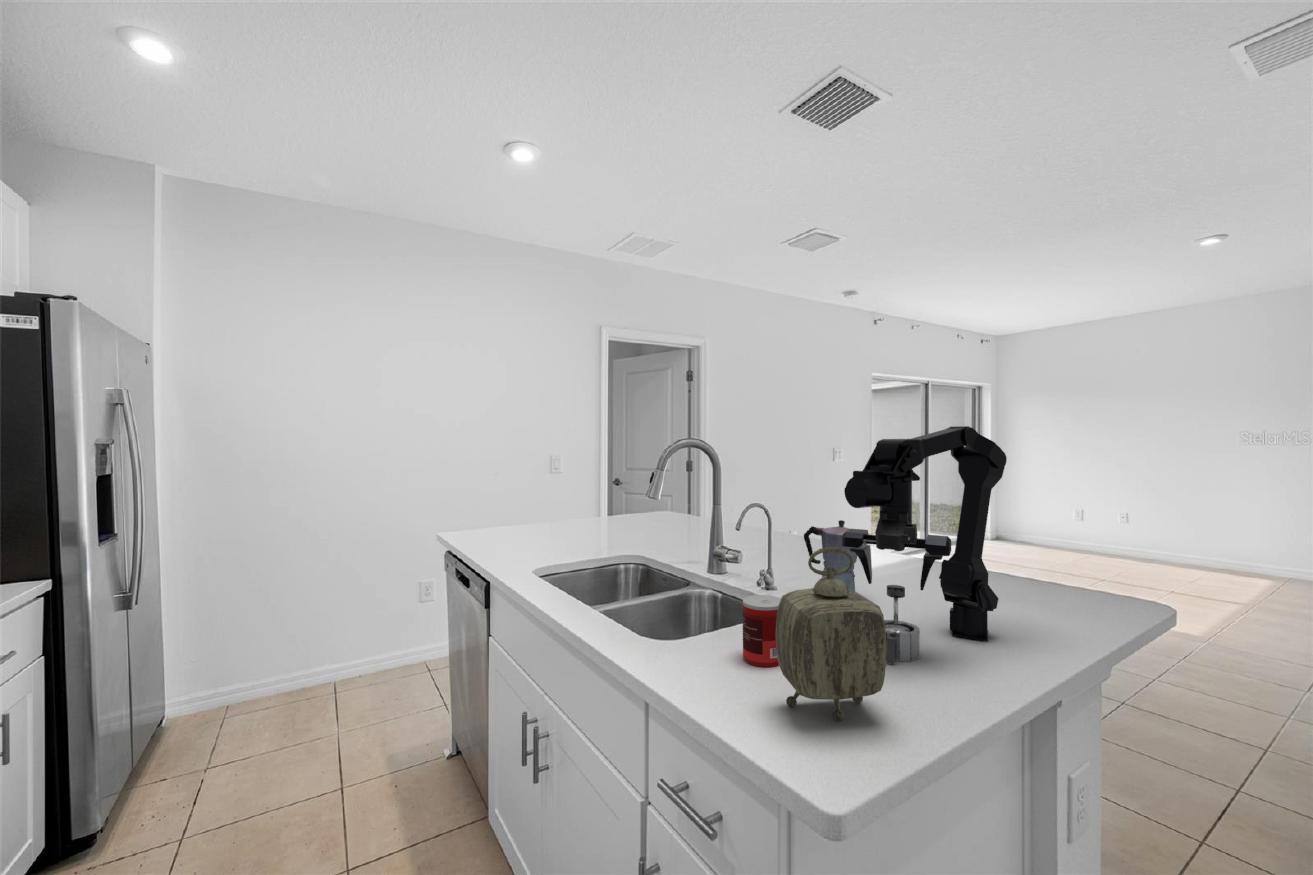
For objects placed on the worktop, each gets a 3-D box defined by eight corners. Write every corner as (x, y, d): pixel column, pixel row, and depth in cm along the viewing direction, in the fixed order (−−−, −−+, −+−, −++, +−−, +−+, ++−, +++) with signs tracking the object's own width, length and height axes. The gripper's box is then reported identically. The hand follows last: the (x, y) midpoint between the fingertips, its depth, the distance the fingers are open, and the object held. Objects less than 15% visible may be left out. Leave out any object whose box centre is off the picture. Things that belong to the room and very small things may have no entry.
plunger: (910, 629, 112) (910, 585, 112) (907, 637, 108) (907, 591, 107) (884, 625, 114) (884, 582, 114) (880, 633, 110) (880, 588, 110)
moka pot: (871, 607, 140) (871, 523, 139) (804, 603, 143) (804, 522, 142) (865, 595, 149) (865, 518, 149) (803, 592, 152) (802, 516, 152)
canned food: (787, 654, 111) (786, 596, 111) (781, 670, 103) (781, 608, 103) (747, 649, 113) (746, 593, 113) (739, 664, 106) (738, 604, 106)
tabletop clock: (863, 697, 93) (863, 540, 92) (893, 725, 84) (893, 552, 83) (775, 703, 91) (775, 543, 91) (796, 732, 82) (795, 556, 82)
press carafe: (921, 649, 112) (921, 624, 112) (915, 669, 103) (915, 641, 103) (877, 642, 116) (876, 617, 116) (867, 661, 107) (867, 633, 107)
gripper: (835, 506, 108) (835, 590, 109) (947, 513, 99) (947, 605, 99) (848, 500, 118) (848, 577, 118) (951, 506, 109) (951, 589, 109)
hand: (895, 586), depth 111 cm, fingers open, 9 cm apart
